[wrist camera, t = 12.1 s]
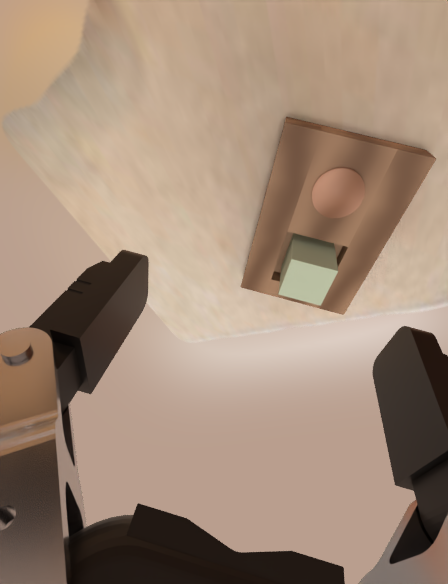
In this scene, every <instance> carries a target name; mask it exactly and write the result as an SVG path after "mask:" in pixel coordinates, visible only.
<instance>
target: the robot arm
mask: <svg viewBox="0 0 448 584" xmlns="http://www.w3.org/2000/svg"><path fill="white" fill-rule="evenodd" d="M147 296H148V257H147V256H145V255H141V254H138V253H134V252H130V251H126V250H122V251H121V252H120V253H119V254H118V255H117V256H116V257H115V258H114V259H113V260H112V261H111V262H110V263H109V262H105V261H102V262H100V263H98V264H95V265H93V266H91V267H89V268H87V269H86V270H85V271H84V272H83V273H82V274H81V276H79V277H78V278H77V281H76V282H75V281H74V283H73V284H71V286H70V287H69V288H68V290H67V291H65V292H64V293H63V294H62V295H61V296H60V297H59V298H58V299H57V300H56V301H55V302H54V303H53V304H52V305H51V306H50V307H49V308H48V309H47V310H46V311H45V312H44V313H43V314H42V315H41V316H40V317H39V318H38V319H37V320H36V321H35V322H34V323H33V324H32V325H31V326H30V327H27V328H16V329H12V330H9V331H6V332H3V333H1V334H0V584H345V583H344V568H343V567H342V566H338V565H335V564H332V563H329V562H325V561H322V560H319V559H316V558H313V557H309V556H306V555H303V554H300V553H296V552H293V551H278V552H249V553H248V552H247V553H241V552H236V551H233V550H232V549H230V548H228V547H227V546H226V545H224V544H223V543H221V542H220V541H218V540H217V539H216V538H214V537H213V536H211V535H210V534H209V533H207V532H206V531H204V530H203V529H201V528H200V527H198V526H197V525H195V524H194V523H193V522H191V521H190V520H188V519H187V518H184V517H180V516H177V515H173V514H171V513H167V512H164V511H161V510H158V509H154V508H151V507H148V506H145V505H141V504H137V507H136V510H135V513H134V515H123V516H117V517H112V518H108V519H105V520H102V521H99V522H96V523H94V524H92V525H90V526H88V527H86V520H85V512H84V504H83V496H82V491H81V486H80V480H79V475H78V469H77V461H76V452H75V444H74V435H73V426H72V418H71V408H70V401H71V400H72V398H73V397H74V395H75V394H76V392H77V391H82V392H85V393H89V394H91V393H92V392H93V390H94V388H95V387H96V385H97V384H98V382H99V380H100V379H101V377H102V376H103V374H104V372H105V371H106V369H107V368H108V366H109V364H110V363H111V361H112V359H113V358H114V356H115V354H116V353H117V351H118V350H119V348H120V347H121V345H122V343H123V342H124V340H125V339H126V337H127V335H128V334H129V332H130V330H131V329H132V327H133V325H134V324H135V322H136V321H137V319H138V318H139V316H140V314H141V313H142V311H143V309H144V307H145V304H146V301H147ZM373 379H374V384H375V388H376V393H377V398H378V403H379V407H380V413H381V418H382V422H383V428H384V433H385V437H386V442H387V447H388V452H389V457H390V462H391V467H392V472H393V476H394V482H395V485H396V486H400V487H403V488H407V489H410V490H413V491H414V492H415V496H416V500H415V501H413V502H412V503H411V504H410V505H409V507H408V509H407V511H406V512H405V514H404V516H403V518H402V520H401V521H400V523H399V525H398V527H397V529H396V531H395V533H394V534H393V536H392V538H391V540H390V542H389V543H388V545H387V547H386V549H385V551H384V553H383V555H382V557H381V558H380V560H379V562H378V563H377V564H376V566H375V567H374V568H373V569H372V570H371V571H370V572H368V573H367V574H366V575H365V576H364V577H363V578H362V579H361V581H360V582H359V583H358V584H448V356H447V355H445V354H443V353H442V351H441V348H440V346H439V344H438V342H437V339H436V337H435V336H434V335H433V334H432V333H429V332H426V331H422V330H418V329H415V328H411V327H407V326H404V327H401V328H400V329H399V330H398V331H397V332H396V334H395V335H394V336H393V337H392V339H391V340H390V341H389V342H388V344H387V345H386V346H385V348H384V349H383V350H382V351H381V353H380V354H379V355H378V356H377V358H376V360H375V362H374V366H373Z"/></svg>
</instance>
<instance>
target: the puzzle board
mask: <svg viewBox="0 0 448 584" xmlns="http://www.w3.org/2000/svg"><path fill="white" fill-rule="evenodd" d="M435 160H436V158H435V157H434V156H433V155H431V154H430V153H429V152H428V151H427V150H423V149H419V148H415V147H411V146H407V145H402V144H398V143H394V142H390V141H386V140H381V139H377V138H373V137H369V136H365V135H360V134H356V133H352V132H348V131H344V130H340V129H335V128H331V127H327V126H323V125H319V124H314V123H310V122H306V121H302V120H298V119H293V118H289V117H286V120H285V124H284V128H283V131H282V135H281V139H280V143H279V146H278V150H277V154H276V158H275V161H274V165H273V169H272V172H271V176H270V180H269V184H268V187H267V191H266V195H265V198H264V202H263V206H262V210H261V213H260V217H259V221H258V224H257V228H256V232H255V236H254V239H253V243H252V247H251V250H250V254H249V258H248V262H247V265H246V269H245V273H244V277H243V280H242V284H241V287H242V288H246V289H250V290H253V291H257V292H261V293H264V294H268V295H272V296H276V297H279V298H283V299H287V300H290V301H294V302H298V303H302V304H305V305H309V306H313V307H316V308H320V309H324V310H328V311H331V312H335V313H339V314H342V315H344V313H345V312H346V310H347V308H348V307H349V305H350V303H351V301H352V300H353V298H354V296H355V295H356V293H357V291H358V290H359V288H360V286H361V285H362V283H363V281H364V280H365V278H366V276H367V275H368V273H369V271H370V269H371V268H372V266H373V264H374V263H375V261H376V259H377V258H378V256H379V254H380V253H381V251H382V249H383V248H384V246H385V244H386V243H387V241H388V239H389V238H390V236H391V234H392V232H393V231H394V229H395V227H396V226H397V224H398V222H399V221H400V219H401V217H402V216H403V214H404V212H405V211H406V209H407V207H408V206H409V204H410V202H411V200H412V199H413V197H414V195H415V194H416V192H417V190H418V189H419V187H420V185H421V184H422V182H423V180H424V179H425V177H426V175H427V174H428V172H429V170H430V169H431V167H432V165H433V163H434V162H435ZM293 233H295V234H299V235H303V236H307V237H311V238H315V239H319V240H322V241H326V242H330V243H334V245H335V252H336V259H337V266H338V273H337V275H336V277H335V279H334V280H333V282H332V284H331V286H330V288H329V290H328V292H327V294H326V296H325V298H324V300H323V302H322V304H321V306H320V305H316V304H312V303H309V302H305V301H301V300H297V299H294V298H290V297H286V296H282V295H279V294H278V292H279V283H280V275H281V266H282V263H283V261H284V258H285V255H286V252H287V249H288V247H289V244H290V241H291V238H292V235H293Z"/></svg>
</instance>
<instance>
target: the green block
mask: <svg viewBox="0 0 448 584" xmlns="http://www.w3.org/2000/svg"><path fill="white" fill-rule="evenodd" d="M337 273H338V266H337V259H336V252H335V245H334V243H330V242H326V241H322V240H319V239H315V238H311V237H307V236H303V235H299V234H295V233H293V235H292V238H291V241H290V244H289V247H288V249H287V252H286V255H285V258H284V261H283V263H282V266H281V275H280V283H279V292H278V294H279V295H282V296H286V297H290V298H294V299H297V300H301V301H305V302H309V303H312V304H316V305H320V306H321V304H322V302H323V300H324V298H325V296H326V294H327V292H328V290H329V288H330V286H331V284H332V282H333V280H334V279H335V277H336V275H337Z"/></svg>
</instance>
